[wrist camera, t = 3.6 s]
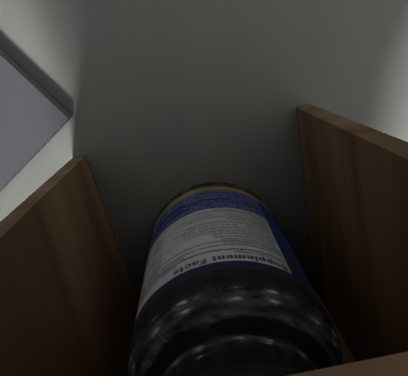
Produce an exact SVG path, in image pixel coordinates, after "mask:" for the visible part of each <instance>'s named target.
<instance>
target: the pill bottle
mask: <svg viewBox="0 0 408 376" xmlns="http://www.w3.org/2000/svg"><path fill="white" fill-rule="evenodd" d="M342 358H343V355H342V350H341V344H340V341H339V337H338V334H337V331H336V329H335V327H334V325H333V323H332V321H331V320H330V317H329V314H328V313H327V311H326V310H325V308H324V306H323V305H322V303H321V301H320V299H319V297H318V296H317V294H316V292H315V290H314V288H313V287H312V285H311V283H310V281H309V279H308V278H307V276H306V274H305V272H304V270H303V268H302V267H301V265H300V263H299V261H298V259H297V258H296V256H295V254H294V252H293V250H292V248H291V246H290V245H289V243H288V241H287V239H286V238H285V236H284V234H283V232H282V230H281V229H280V227H279V225H278V223H277V221H276V220H275V218H274V216H273V214H272V213H271V211H270V210H269V209H268V207H267V206H266V205H265V204H264V203H263V201H262V200H261V199H260V198H259V197H258V196H257V195H255V194H254V193H252V192H251V191H249V190H247V189H245V188H243V187H241V186H238V185H234V184H227V183H215V182H213V183H206V184H200V185H196V186H193V187H190V188H188V189H186V190H184V191H183V192H181V193H179V194H178V195H177V196H175V197H174V198H173V199H171V200H170V201H169V202H168V203H167V204H166V205H165V207H164V208H163V210H162V211H161V213H160V215H159V216H158V218H157V221H156V224H155V227H154V230H153V233H152V238H151V243H150V247H149V250H148V254H147V262H146V267H145V272H144V277H143V281H142V286H141V292H140V297H139V302H138V307H137V311H136V317H135V321H134V327H133V331H132V335H131V339H130V344H129V349H128V359H127V361H128V363H127V370H126V372H127V376H288V375H293V374H298V373H303V372H308V371H313V370H318V369H323V368H328V367H333V366H338V365H343V363H342Z"/></svg>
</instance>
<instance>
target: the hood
mask: <svg viewBox="0 0 408 376" xmlns="http://www.w3.org/2000/svg"><path fill="white" fill-rule="evenodd" d="M296 111H297V120H298V129H299V137H300V146H301V154H302V163H303V171H304V180H305V188H306V197H307V205H308V214H309V223H310V231H311V240H312V248H313V257H314V265H315V274H316V282H317V291H318V293H316V294H317V296H318V297H319V299H320V301H321V303H322V305H323V306H324V308H325V310H326V311H327V313H328V314H329V317H330V320H331V321H332V323H333V325H334V327H335V329H336V331H337V334H338V337H339V341H340V344H341V350H342V355H343V358H342V363H343V365H338V366H333V367H328V368H323V369H318V370H313V371H308V372H303V373H298V374H293V375H288V376H408V142H405V141H403V140H400V139H398V138H395V137H392V136H390V135H387V134H385V133H382V132H380V131H377V130H374V129H372V128H369V127H367V126H364V125H361V124H359V123H356V122H354V121H351V120H349V119H346V118H343V117H341V116H338V115H336V114H333V113H330V112H328V111H325V110H323V109H320V108H317V107H315V106H312V105H305V106H301V107H296ZM137 307H138V301H137V298H136V295H135V292H134V290H133V287H132V284H131V281H130V278H129V276H128V273H127V270H126V267H125V265H124V262H123V259H122V256H121V253H120V251H119V248H118V245H117V242H116V239H115V237H114V234H113V231H112V228H111V226H110V223H109V220H108V217H107V214H106V212H105V209H104V206H103V203H102V200H101V198H100V195H99V192H98V189H97V186H96V184H95V181H94V178H93V175H92V173H91V170H90V167H89V164H88V161H87V159H86V156H81V157H76V158H72V159H71V160H70V161H69V162H68V163H67V164H65V165H64V166H63V167H62V168H61V169H60V170H59V171H58V172H56V173H55V174H54V175H53V176H52V177H51V178H50V179H48V180H47V181H46V182H45V183H44V184H43V185H42V186H41V187H39V188H38V189H37V190H36V191H35V192H34V193H33V194H32V195H30V196H29V197H28V198H27V199H26V200H25V201H24V202H22V203H21V204H20V205H19V206H18V207H17V208H16V209H15V210H13V211H12V212H11V213H10V214H9V215H8V216H7V217H6V218H4V219H3V220H2V221H1V222H0V376H127V372H126V370H127V363H128V361H127V359H128V349H129V344H130V339H131V335H132V331H133V327H134V321H135V317H136V311H137Z"/></svg>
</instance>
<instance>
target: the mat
mask: <svg viewBox="0 0 408 376" xmlns="http://www.w3.org/2000/svg"><path fill="white" fill-rule="evenodd" d="M72 117H73V116H72V115H71V114H70V113H69V112H68V111H67V110H66V109H65V108H64V107H63V106H62V105H61V104H59V103H58V102H57V101H56V100H55V99H54V98H53V97H52V96H51V95H50V94H49V93H48V92H47V91H46V90H45V89H44V88H43V87H41V86H40V85H39V84H38V83H37V82H36V81H35V80H34V79H33V78H32V77H31V76H30V75H29V74H28V73H27V72H26V71H25V70H23V69H22V68H21V67H20V66H19V65H18V64H17V63H16V62H15V61H14V60H13V59H12V58H11V57H10V56H9V55H8V54H6V53H5V52H4V51H3V50H2V49H1V48H0V191H1V190H2V189H3V188H4V187H5V186H6V185H7V184H8V183H9V182H10V181H11V180H12V179H13V178H14V177H15V176H16V175H17V174H18V173H19V172H20V171H21V170H22V169H23V168H24V167H25V165H26V164H27V163H28V162H29V161H30V160H31V159H32V158H33V157H34V156H35V155H36V154H37V153H38V152H39V151H40V150H41V149H42V148H43V147H44V146H45V145H46V144H47V143H48V142H49V140H50V139H51V138H52V137H53V136H54V135H55V134H56V133H57V132H58V131H59V130H60V129H61V128H62V127H63V126H64V125H65V124H66V123H67V122H68V121H69V120H70V119H71V118H72Z"/></svg>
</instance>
